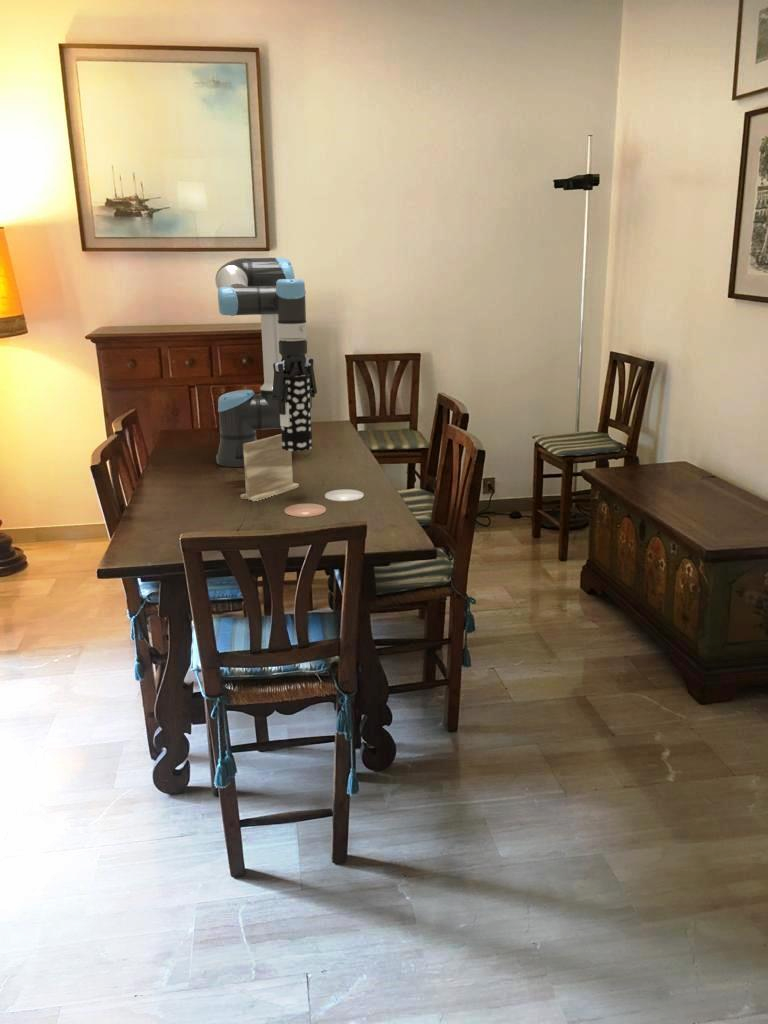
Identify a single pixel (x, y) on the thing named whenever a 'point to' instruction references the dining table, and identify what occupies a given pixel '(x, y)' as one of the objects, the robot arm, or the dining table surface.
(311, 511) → the pink round disc
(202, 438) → the dining table surface
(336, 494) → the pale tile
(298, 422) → the spotted tube
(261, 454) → the birch shelf
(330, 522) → the dining table surface
